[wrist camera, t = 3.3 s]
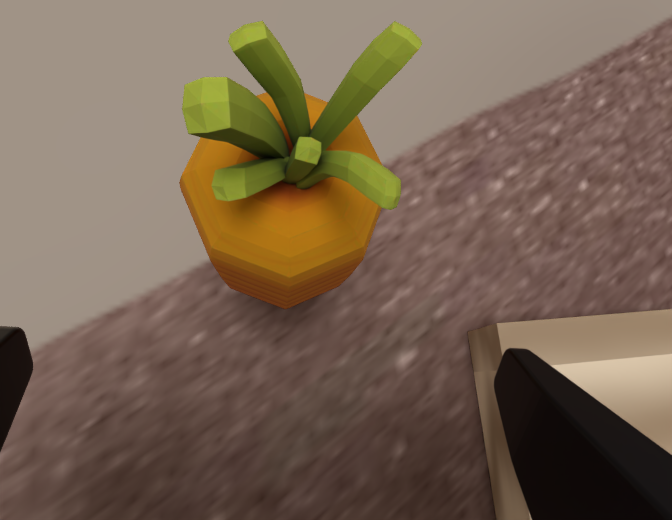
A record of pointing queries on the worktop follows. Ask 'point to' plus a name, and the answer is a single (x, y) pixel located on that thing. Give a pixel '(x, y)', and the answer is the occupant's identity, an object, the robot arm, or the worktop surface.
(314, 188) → the carrot
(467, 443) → the worktop surface
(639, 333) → the socket board
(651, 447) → the robot arm
